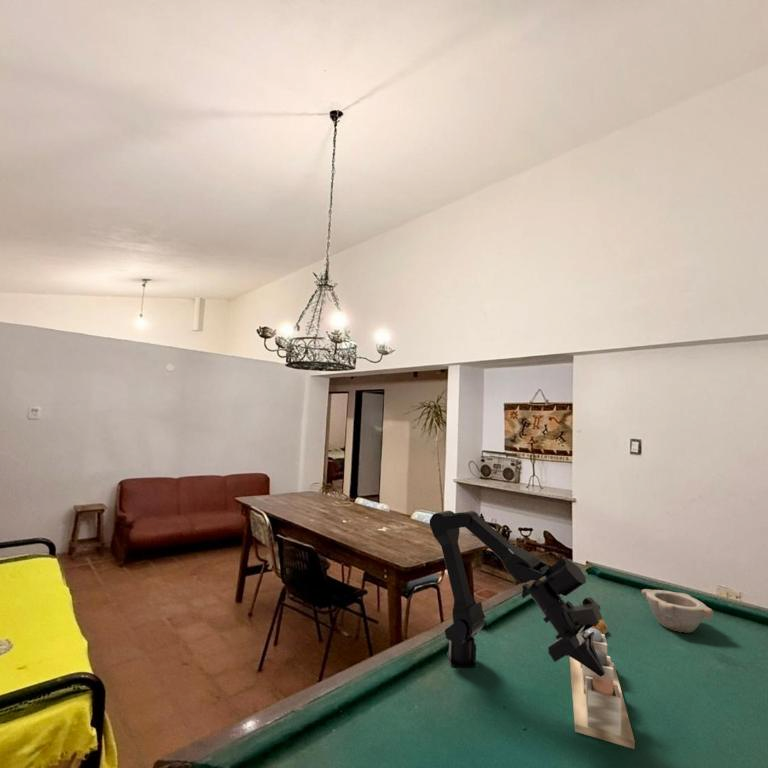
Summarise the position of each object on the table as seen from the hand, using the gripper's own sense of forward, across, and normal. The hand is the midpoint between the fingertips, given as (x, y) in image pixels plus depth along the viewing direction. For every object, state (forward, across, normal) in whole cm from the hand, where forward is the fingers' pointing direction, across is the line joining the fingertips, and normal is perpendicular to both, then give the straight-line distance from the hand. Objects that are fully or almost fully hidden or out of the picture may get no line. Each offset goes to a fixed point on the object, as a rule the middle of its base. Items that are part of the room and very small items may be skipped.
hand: (602, 675), depth 92 cm
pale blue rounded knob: (-2, +23, +10) cm, 25 cm away
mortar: (+11, +72, +5) cm, 73 cm away
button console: (+5, +11, +11) cm, 16 cm away
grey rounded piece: (+1, +11, +7) cm, 13 cm away
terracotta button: (+4, 0, +4) cm, 6 cm away
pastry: (-2, +46, +18) cm, 50 cm away
